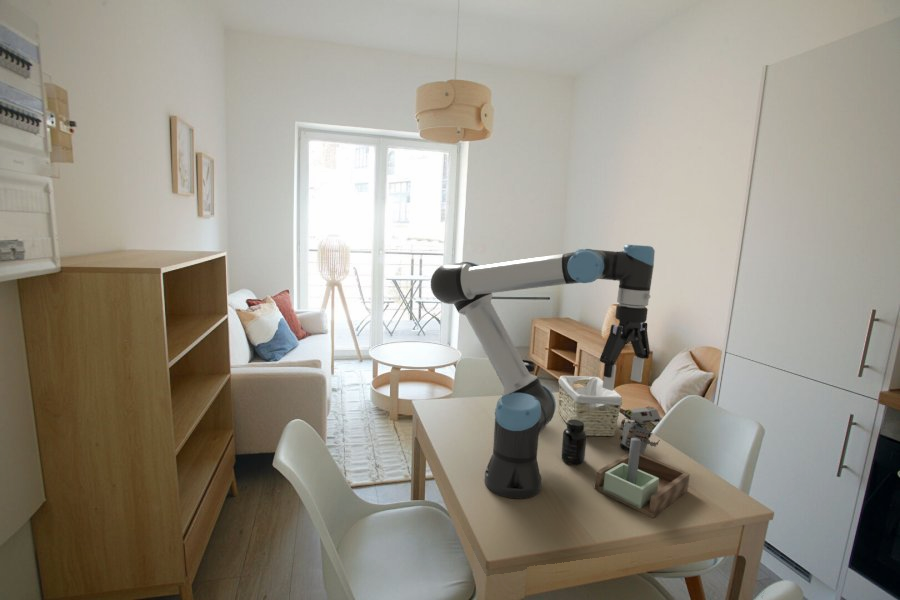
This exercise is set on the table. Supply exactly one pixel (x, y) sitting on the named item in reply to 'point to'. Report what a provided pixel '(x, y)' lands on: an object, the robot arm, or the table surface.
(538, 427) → the robot arm
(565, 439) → the supplement bottle
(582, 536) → the table surface
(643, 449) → the figurine
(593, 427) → the storage basket
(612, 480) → the green box with handle
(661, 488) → the bay
